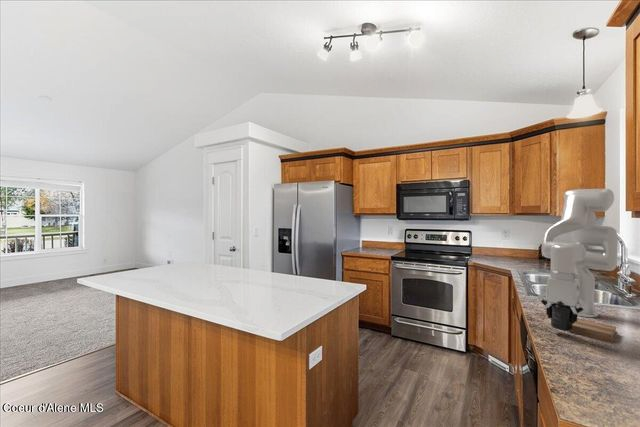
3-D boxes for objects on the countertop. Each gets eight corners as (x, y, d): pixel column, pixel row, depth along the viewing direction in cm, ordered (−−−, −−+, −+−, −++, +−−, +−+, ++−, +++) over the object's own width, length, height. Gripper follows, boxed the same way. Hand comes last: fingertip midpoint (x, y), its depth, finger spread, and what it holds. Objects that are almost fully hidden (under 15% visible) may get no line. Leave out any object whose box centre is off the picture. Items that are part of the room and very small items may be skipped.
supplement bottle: (576, 332, 116) (577, 301, 115) (556, 330, 117) (557, 300, 116) (565, 324, 122) (566, 295, 122) (546, 323, 124) (547, 294, 123)
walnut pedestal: (575, 324, 131) (575, 317, 130) (617, 334, 121) (617, 327, 121) (568, 332, 122) (569, 324, 122) (613, 343, 112) (613, 335, 112)
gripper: (593, 278, 115) (592, 324, 115) (538, 270, 128) (537, 311, 129) (589, 282, 110) (588, 329, 111) (533, 273, 123) (532, 316, 124)
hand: (561, 319), depth 120 cm, fingers closed on supplement bottle, 6 cm apart
